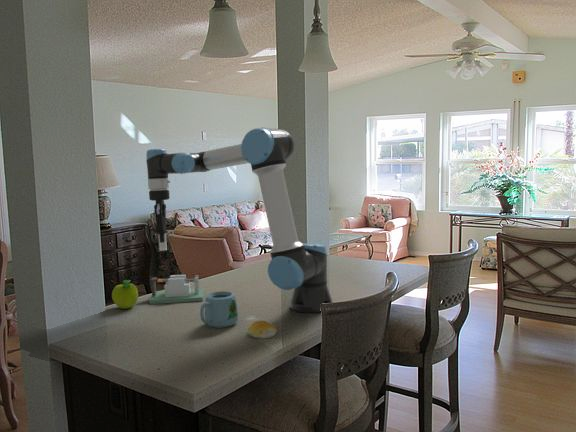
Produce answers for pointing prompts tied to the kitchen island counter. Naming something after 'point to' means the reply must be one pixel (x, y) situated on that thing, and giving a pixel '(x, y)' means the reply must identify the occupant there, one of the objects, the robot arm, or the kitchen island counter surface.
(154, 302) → the heatsink board
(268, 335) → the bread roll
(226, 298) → the mug
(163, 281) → the wooden stick
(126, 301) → the fruit
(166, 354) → the kitchen island counter surface
